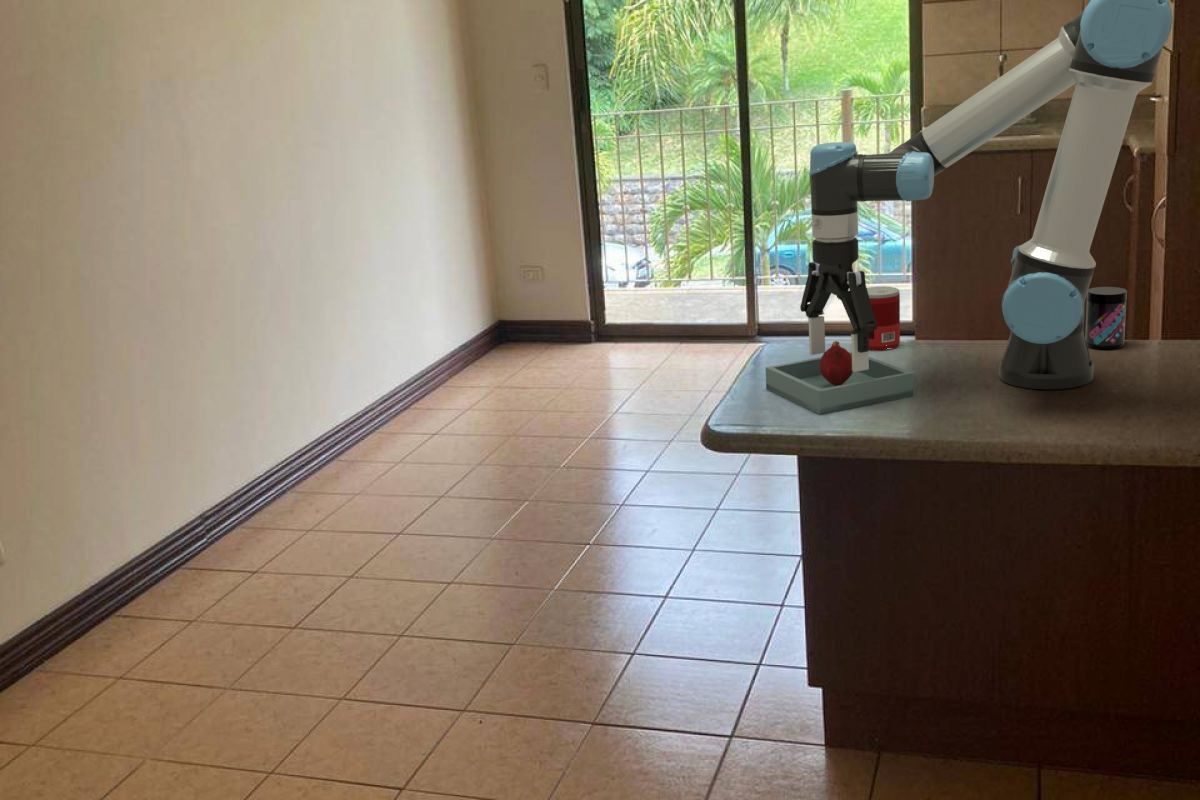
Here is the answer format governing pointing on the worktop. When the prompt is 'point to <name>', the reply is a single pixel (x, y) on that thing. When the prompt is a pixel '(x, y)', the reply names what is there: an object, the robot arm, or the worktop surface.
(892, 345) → the canned food
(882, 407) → the worktop surface
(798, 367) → the bin
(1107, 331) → the supplement container
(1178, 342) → the worktop surface
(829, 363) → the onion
